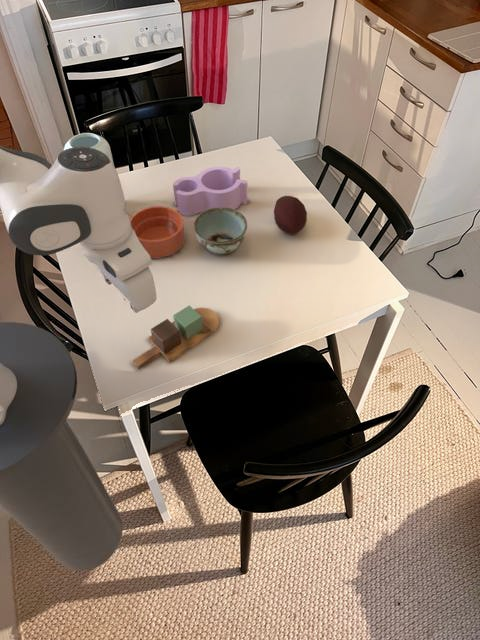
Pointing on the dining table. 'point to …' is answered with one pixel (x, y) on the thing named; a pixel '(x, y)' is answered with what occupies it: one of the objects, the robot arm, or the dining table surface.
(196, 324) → the sage block
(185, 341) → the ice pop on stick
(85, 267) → the dining table surface
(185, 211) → the purple cup holder
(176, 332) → the walnut block
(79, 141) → the vase
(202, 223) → the bowl
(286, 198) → the potato
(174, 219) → the terracotta pot
